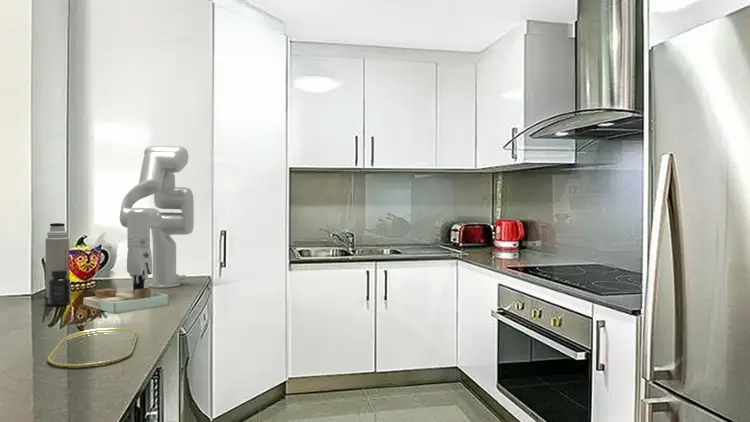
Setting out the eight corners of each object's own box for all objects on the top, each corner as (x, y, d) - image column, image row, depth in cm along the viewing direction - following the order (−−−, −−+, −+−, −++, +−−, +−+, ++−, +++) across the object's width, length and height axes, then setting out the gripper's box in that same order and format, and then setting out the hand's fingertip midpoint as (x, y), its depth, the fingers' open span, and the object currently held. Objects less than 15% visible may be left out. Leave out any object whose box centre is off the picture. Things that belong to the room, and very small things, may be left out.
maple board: (136, 297, 216) (136, 290, 216) (153, 301, 209) (153, 294, 209) (83, 304, 200) (83, 297, 200) (99, 309, 193) (99, 302, 193)
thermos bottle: (73, 294, 219) (73, 222, 218) (62, 298, 211) (61, 224, 210) (53, 294, 219) (53, 222, 218) (41, 298, 211) (40, 223, 210)
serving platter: (140, 331, 166) (140, 326, 166) (129, 367, 133) (129, 360, 133) (69, 335, 160) (69, 330, 160) (38, 374, 127) (38, 367, 127)
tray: (154, 301, 208) (154, 291, 208) (168, 304, 203) (168, 295, 202) (100, 309, 193) (100, 299, 193) (114, 313, 187) (114, 303, 187)
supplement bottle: (74, 302, 204) (74, 269, 203) (62, 306, 197) (62, 272, 196) (57, 302, 204) (56, 269, 204) (44, 305, 198) (44, 271, 197)
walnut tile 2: (108, 295, 206) (108, 288, 206) (115, 296, 203) (115, 289, 203) (95, 296, 202) (95, 290, 202) (102, 298, 199) (102, 291, 199)
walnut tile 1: (147, 287, 204) (151, 289, 202) (146, 300, 205) (150, 302, 203) (134, 289, 200) (137, 291, 199) (133, 302, 201) (136, 304, 199)
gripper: (159, 244, 201) (159, 295, 202) (137, 241, 210) (137, 290, 211) (139, 245, 195) (139, 297, 196) (118, 242, 205) (118, 292, 205)
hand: (138, 293), depth 203 cm, fingers closed
